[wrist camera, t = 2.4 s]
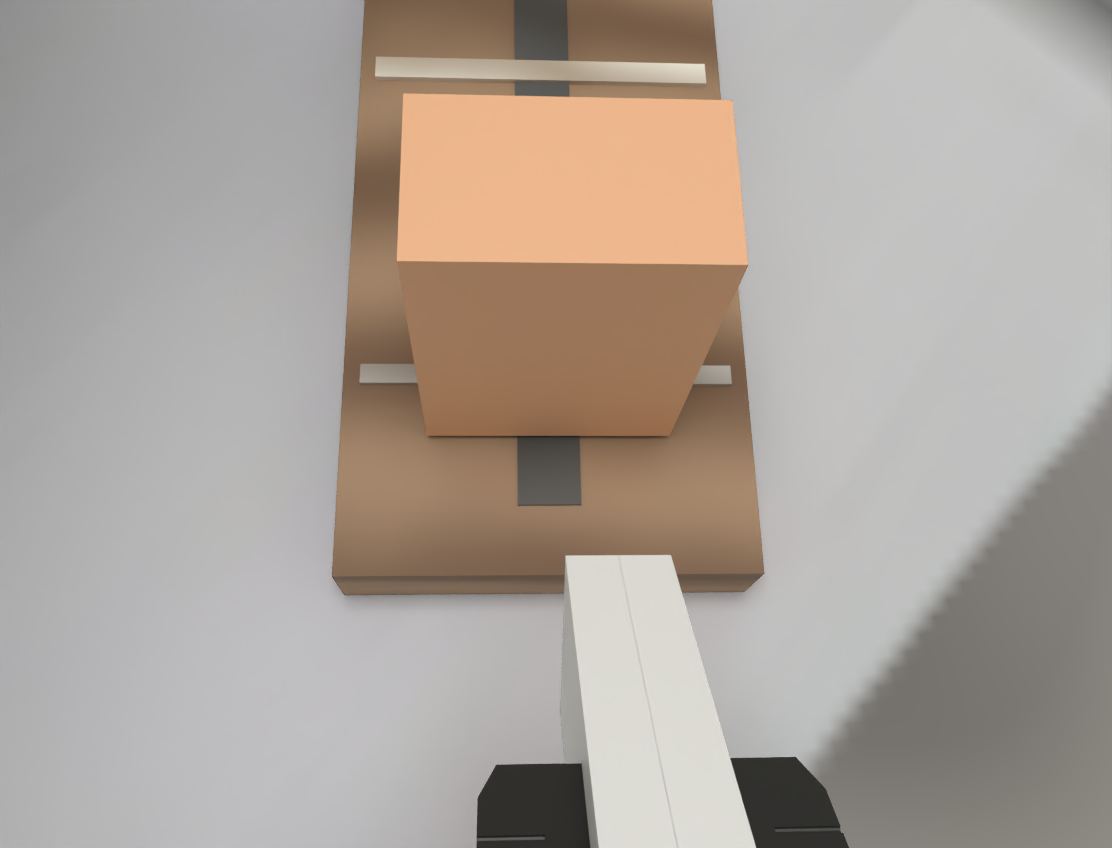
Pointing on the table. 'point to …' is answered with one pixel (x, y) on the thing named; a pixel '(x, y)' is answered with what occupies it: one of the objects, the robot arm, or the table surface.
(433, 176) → the fader knob
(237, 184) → the table surface
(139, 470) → the table surface
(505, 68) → the fader board
